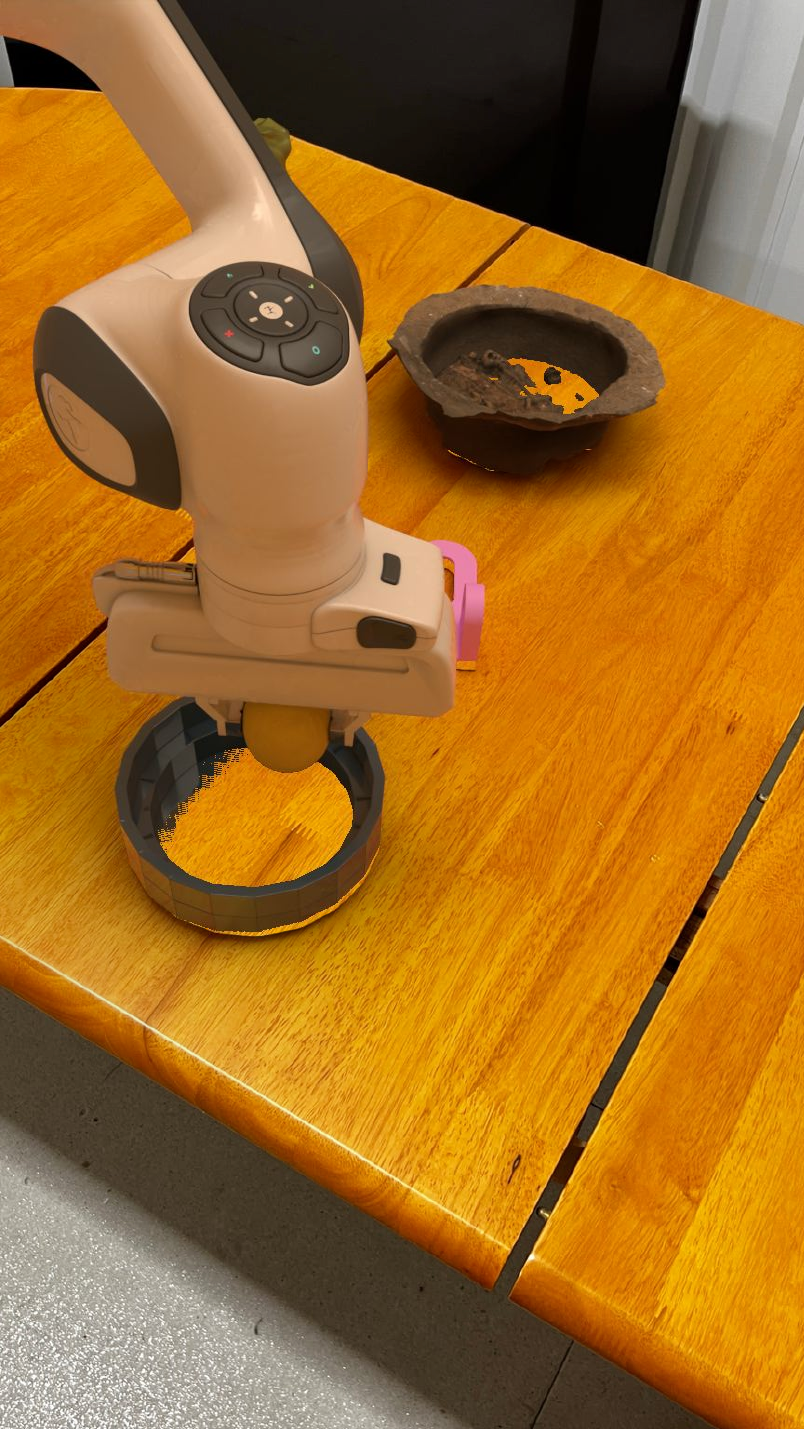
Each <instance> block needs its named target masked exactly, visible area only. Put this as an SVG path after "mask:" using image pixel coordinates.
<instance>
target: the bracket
mask: <svg viewBox="0 0 804 1429" xmlns="http://www.w3.org/2000/svg"><path fill="white" fill-rule="evenodd" d="M429 542H430V543H432V544H434V545H436V546H437V547H438V548H439V549H440V550H441V552H442V556H443V559H448V560H450V561H451V562H453V564H454V600H453V599H452V600H451V603H452V606H453V609H454V614H455V622H456V633H457V661H477V662H478V656H479V651H480V643H481V637H482V630H483V625H484V624H483V623H484V615H485V596H486V594H485V591H486V590H485V589H486V588H485V584H484V583H478V564H477V560H476V557H475V556H474V554H473V553H472V552H471V551H470V549H468V548H466V547H465V546H464V545H462V544H460V543H457V542H454V541H451V540H446V539H445V540H444V539H436V540H430V541H429Z"/></svg>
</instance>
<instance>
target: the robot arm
mask: <svg viewBox="0 0 804 1429" xmlns="http://www.w3.org/2000/svg"><path fill="white" fill-rule="evenodd" d="M0 36H1V37H6V38H10V39H14V40H19V41H22V42H26V43H30V44H31V45H32V44H33V45H36V46H38V47H41V48H43V49H45V50H48V51H50V52H53V53H54V54H56V55H58V56H60V57H61V58H63V59H65V60H67V61H68V62H70V63H71V64H73V65H74V66H76V67H77V68H78V69H79V70H80V71H82V72H83V73H84V74H85V75H86V76H87V77H88V78H89V79H90V80H91V81H92V82H93V83H94V84H95V85H96V86H97V87H98V88H99V90H100V91H101V92H102V93H103V95H104V96H105V98H106V99H107V100H108V102H109V103H110V104H111V106H112V108H113V109H114V110H115V112H116V113H117V115H118V116H119V118H120V119H121V121H122V122H123V124H124V125H125V127H126V128H127V130H128V131H129V133H131V135H132V137H133V138H134V140H135V141H136V143H137V144H138V145H139V147H140V148H141V150H142V152H143V153H144V154H145V156H146V157H147V159H148V160H149V161H150V163H151V165H152V166H153V167H154V169H155V171H156V173H158V174H159V177H161V179H162V180H163V182H164V183H165V185H166V187H167V188H168V189H169V191H170V192H171V193H172V195H173V196H174V198H175V200H176V201H177V202H178V203H179V205H180V207H181V208H182V210H183V211H184V213H185V214H186V216H187V218H188V220H189V224H190V230H191V232H190V233H189V234H188V235H185V236H183V237H181V238H180V239H178V240H175V241H173V242H172V243H169V244H167V245H166V246H164V247H162V248H160V249H158V250H156V251H154V252H152V253H150V254H149V255H146V256H144V257H142V258H140V259H138V260H136V261H134V262H133V263H128V264H124V265H123V266H120V267H118V268H116V269H114V270H112V271H111V272H109V273H106V274H104V275H103V276H100V277H98V278H97V279H94V280H93V281H90V282H89V283H87V284H85V285H84V286H83V285H82V287H80V288H78V289H76V290H74V291H72V292H70V293H69V294H67V295H66V296H64V297H63V298H61V299H60V300H58V301H57V302H55V304H53V305H52V306H48V307H47V308H46V309H44V310H43V312H42V314H41V316H40V318H39V320H38V322H37V326H36V329H35V333H34V339H33V346H32V369H33V370H32V372H33V380H34V388H35V393H36V396H37V401H38V404H39V407H40V409H41V410H40V411H41V413H42V415H43V417H44V420H45V423H46V425H47V427H48V429H49V431H50V433H51V436H52V438H53V439H54V441H55V442H56V444H57V446H58V447H59V450H61V452H62V453H63V454H64V456H65V457H66V458H67V459H68V460H69V461H70V462H71V463H72V464H73V465H74V466H75V467H77V468H78V469H79V470H80V471H82V472H83V473H84V474H85V475H87V476H88V477H90V478H91V479H92V480H94V481H95V482H97V483H99V484H101V485H103V486H105V487H107V488H110V489H112V490H115V491H117V492H119V493H122V494H124V495H127V496H129V497H131V498H133V499H137V500H139V501H141V502H143V503H146V504H149V505H151V506H154V507H157V508H160V509H164V510H168V511H174V512H175V511H178V510H179V509H181V510H183V511H185V512H186V514H188V515H189V517H190V518H191V519H192V523H193V531H192V539H193V540H192V541H193V548H194V556H195V557H194V558H195V563H193V562H183V561H182V562H181V561H152V560H151V561H149V560H143V559H141V558H136V557H119V558H116V559H115V561H114V563H109V564H106V565H102V566H101V567H98V568H97V569H96V570H95V571H94V573H93V574H92V577H91V587H92V594H93V597H94V601H95V605H96V607H97V609H98V610H99V611H100V613H101V614H102V615H104V616H105V617H107V618H108V620H107V625H106V638H105V646H106V648H105V649H106V650H105V652H106V663H107V672H108V676H109V678H110V680H111V681H112V682H114V683H115V684H116V685H117V686H119V687H120V688H121V689H122V690H124V691H126V692H128V693H129V692H130V693H137V694H151V695H161V696H162V695H164V696H173V697H174V696H175V697H183V696H185V697H195V700H196V704H197V705H199V706H200V707H201V708H202V709H203V710H204V711H205V712H206V713H207V714H208V715H210V716H211V717H212V718H213V719H214V720H217V728H218V735H222V736H239V737H242V736H243V730H242V718H243V709H244V705H245V703H244V702H256V703H268V704H279V705H291V706H303V707H314V708H326V709H332V714H331V722H330V730H329V737H330V740H329V744H332V745H342V746H353V738H354V732H355V731H357V730H358V729H359V728H360V727H361V726H362V727H363V726H364V725H365V724H366V723H367V722H369V721H370V720H371V719H372V716H373V714H375V713H376V714H387V715H396V716H397V715H398V716H409V717H410V716H411V717H421V718H431V719H438V718H440V717H443V716H444V715H446V714H447V713H450V711H451V710H453V709H454V708H455V699H456V689H457V688H456V686H457V670H456V669H457V633H456V622H455V614H454V609H453V606H452V603H451V602H452V600H451V599H450V597H449V595H448V594H447V593H446V590H445V589H446V587H445V586H446V578H445V576H446V575H445V568H444V563H443V556H442V552H441V550H440V549H439V548H438V547H437V546H436V545H434V544H432V543H430V541H427V540H424V539H421V538H418V537H415V536H412V535H409V534H406V533H405V532H404V533H403V532H402V531H398V530H395V529H393V528H390V527H387V526H385V525H382V524H380V523H378V522H376V521H374V520H371V519H369V518H367V517H365V516H363V512H362V509H361V506H360V498H361V496H362V494H363V492H364V489H365V486H366V482H367V479H368V470H369V445H370V444H369V442H370V441H369V438H370V428H369V427H370V425H369V422H370V421H369V420H370V419H369V418H370V416H369V396H368V388H367V387H368V386H367V378H366V372H365V367H364V366H365V365H364V360H363V356H362V351H361V341H362V337H363V330H364V322H365V321H364V320H365V299H364V297H365V296H364V289H363V284H362V279H361V276H360V272H359V270H358V267H357V265H356V263H355V260H354V259H353V256H352V255H351V253H350V251H349V249H348V248H347V246H346V245H345V243H344V242H343V240H342V239H341V237H340V236H339V234H338V233H337V232H336V231H335V229H334V228H333V227H332V225H330V223H329V222H328V221H327V219H326V218H325V217H324V216H323V215H322V214H321V213H320V211H318V209H317V208H316V207H315V206H314V205H313V203H311V201H310V200H309V199H308V198H307V197H306V195H305V194H304V193H303V192H302V191H301V190H300V189H299V187H298V186H297V185H296V184H295V183H294V181H293V180H292V178H291V176H290V175H289V176H290V177H289V176H288V174H289V173H288V174H287V173H286V172H285V170H284V169H283V167H282V166H281V165H280V163H279V162H278V160H277V159H276V157H275V155H274V154H273V152H272V151H271V149H270V148H269V146H268V145H267V143H266V141H265V140H264V138H263V137H262V135H261V133H260V132H259V130H258V129H257V127H256V126H255V124H254V122H253V121H254V120H253V118H252V117H251V116H250V114H249V113H248V111H247V109H246V108H245V107H244V105H243V103H242V102H241V100H240V99H239V97H238V96H237V94H236V92H235V91H234V89H233V88H232V86H231V85H230V83H229V82H228V79H227V78H226V76H225V75H224V73H223V72H222V70H221V69H220V66H219V65H218V64H217V62H216V60H215V59H214V57H213V56H212V54H211V53H210V51H209V49H208V48H207V46H206V45H205V44H204V42H203V40H202V39H201V37H200V35H199V34H198V33H197V30H196V29H195V28H194V26H193V24H192V23H191V21H190V20H189V18H188V16H187V15H186V13H185V12H184V10H183V9H182V7H181V5H180V4H179V3H178V1H177V0H0ZM290 178H291V179H290Z"/></svg>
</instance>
